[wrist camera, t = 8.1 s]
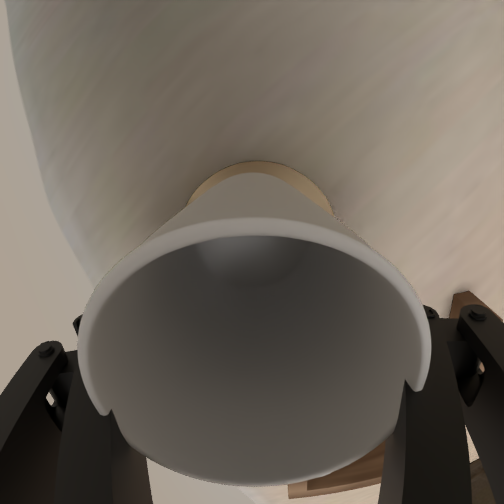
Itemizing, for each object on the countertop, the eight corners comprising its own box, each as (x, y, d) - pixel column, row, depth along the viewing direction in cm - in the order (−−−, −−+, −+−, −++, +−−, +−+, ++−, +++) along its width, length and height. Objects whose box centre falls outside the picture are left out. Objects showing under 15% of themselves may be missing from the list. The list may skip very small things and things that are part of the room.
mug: (169, 198, 16) (17, 308, 4) (288, 146, 15) (391, 142, 4) (244, 346, 19) (239, 529, 7) (346, 309, 18) (428, 477, 7)
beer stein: (462, 486, 36) (493, 549, 17) (430, 493, 35) (461, 567, 16) (510, 435, 32) (555, 499, 13) (483, 440, 31) (532, 518, 12)
